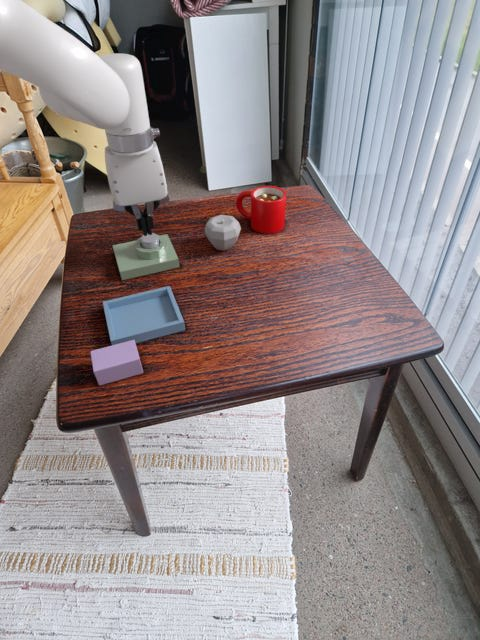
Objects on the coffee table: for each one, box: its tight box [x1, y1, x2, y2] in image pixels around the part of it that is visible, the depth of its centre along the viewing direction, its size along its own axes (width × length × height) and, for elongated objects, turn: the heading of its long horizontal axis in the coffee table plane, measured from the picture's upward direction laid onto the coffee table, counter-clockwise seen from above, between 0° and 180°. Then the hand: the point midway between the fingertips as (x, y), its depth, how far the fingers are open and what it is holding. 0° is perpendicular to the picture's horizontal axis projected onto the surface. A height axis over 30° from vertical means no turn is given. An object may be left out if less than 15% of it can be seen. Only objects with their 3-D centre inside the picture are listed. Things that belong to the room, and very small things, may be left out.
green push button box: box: [112, 233, 181, 281], centre depth 88 cm, size 12×10×4 cm
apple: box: [204, 214, 242, 252], centre depth 90 cm, size 8×8×7 cm
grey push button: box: [140, 232, 159, 249], centre depth 87 cm, size 4×4×2 cm
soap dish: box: [102, 285, 186, 346], centre depth 75 cm, size 13×11×2 cm
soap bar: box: [90, 340, 144, 387], centre depth 67 cm, size 7×4×4 cm, turn 110°
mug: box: [235, 185, 287, 235], centre depth 97 cm, size 8×12×8 cm, turn 67°
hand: (146, 231), depth 85 cm, fingers closed
